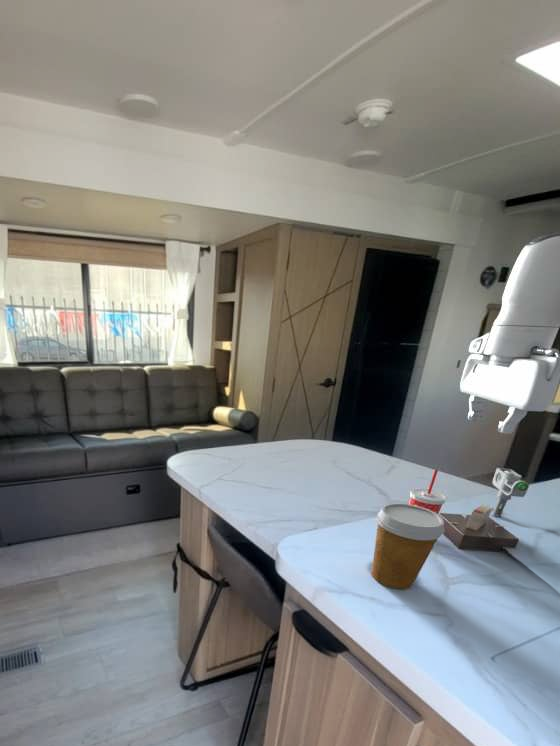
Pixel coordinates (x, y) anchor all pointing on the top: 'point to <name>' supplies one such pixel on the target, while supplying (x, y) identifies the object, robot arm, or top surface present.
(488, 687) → the top surface
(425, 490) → the beverage cup
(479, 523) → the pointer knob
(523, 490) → the mechanical component
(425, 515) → the disposable coffee cup
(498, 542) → the brown square box
